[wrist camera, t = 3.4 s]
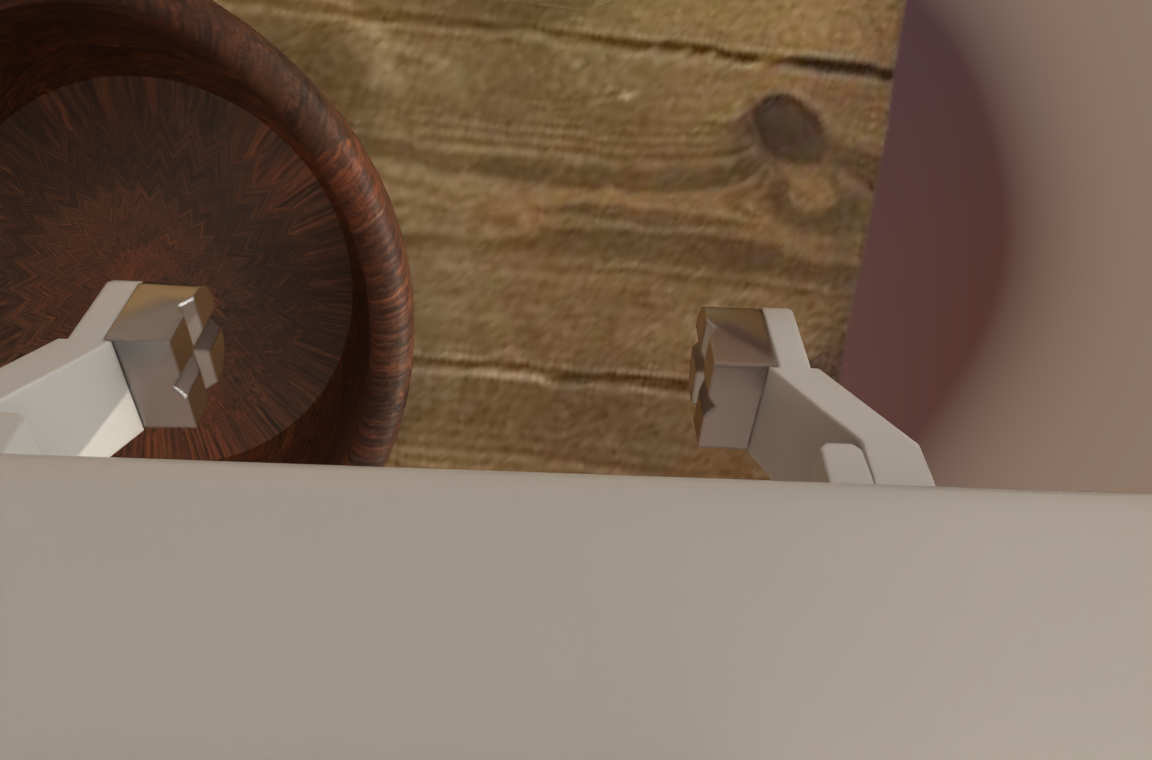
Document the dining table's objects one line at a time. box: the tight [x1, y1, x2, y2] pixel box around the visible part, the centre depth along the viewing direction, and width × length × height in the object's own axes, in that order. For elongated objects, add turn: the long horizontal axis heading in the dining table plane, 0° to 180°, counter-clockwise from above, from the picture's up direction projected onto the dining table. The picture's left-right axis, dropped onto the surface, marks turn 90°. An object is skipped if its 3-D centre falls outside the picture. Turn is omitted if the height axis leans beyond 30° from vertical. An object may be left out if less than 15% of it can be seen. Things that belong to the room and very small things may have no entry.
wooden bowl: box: [0, 0, 414, 467], centre depth 36 cm, size 25×25×10 cm
